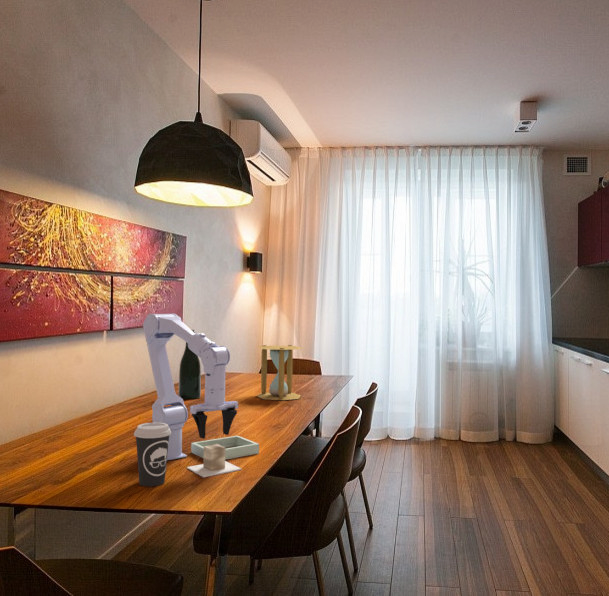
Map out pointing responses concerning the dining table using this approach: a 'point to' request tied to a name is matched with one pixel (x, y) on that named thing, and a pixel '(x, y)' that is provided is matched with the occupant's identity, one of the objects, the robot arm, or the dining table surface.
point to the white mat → (206, 473)
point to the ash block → (214, 457)
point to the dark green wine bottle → (189, 375)
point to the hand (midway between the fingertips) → (214, 436)
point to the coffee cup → (152, 452)
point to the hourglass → (278, 385)
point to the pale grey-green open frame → (243, 445)
